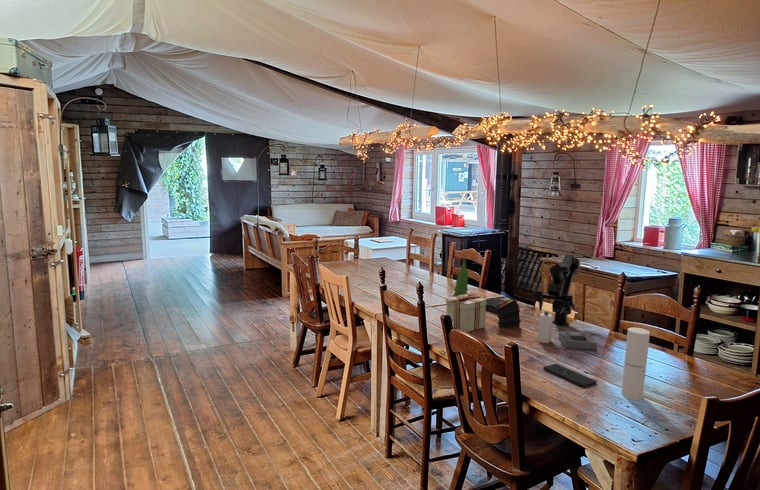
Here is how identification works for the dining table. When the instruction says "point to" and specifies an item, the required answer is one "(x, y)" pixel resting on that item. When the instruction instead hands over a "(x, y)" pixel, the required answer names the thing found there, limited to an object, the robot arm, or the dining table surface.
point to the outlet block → (577, 341)
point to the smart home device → (570, 375)
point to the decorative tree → (461, 281)
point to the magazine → (508, 314)
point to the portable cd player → (494, 304)
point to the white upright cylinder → (545, 327)
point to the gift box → (467, 311)
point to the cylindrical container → (635, 363)
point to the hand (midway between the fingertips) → (549, 312)
